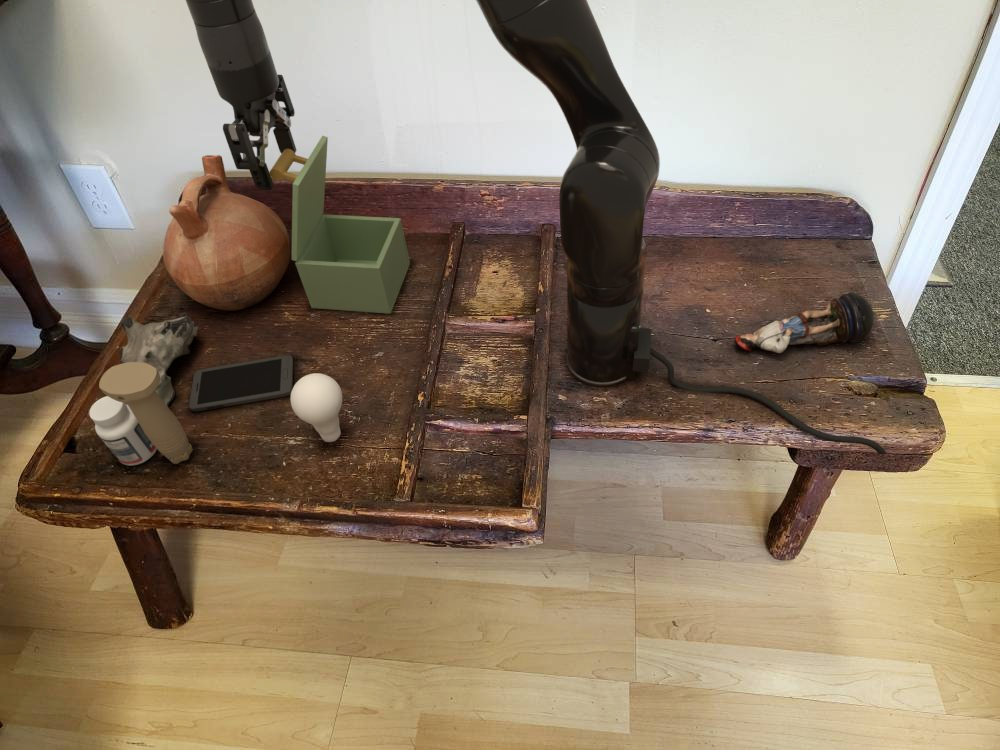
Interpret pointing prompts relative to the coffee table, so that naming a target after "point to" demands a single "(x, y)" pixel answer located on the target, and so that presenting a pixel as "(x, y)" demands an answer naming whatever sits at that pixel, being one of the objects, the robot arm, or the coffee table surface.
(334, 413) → the lightbulb
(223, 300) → the jug
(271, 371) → the cell phone
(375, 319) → the coffee table surface
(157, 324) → the decorative stone
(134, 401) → the handle
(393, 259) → the chest
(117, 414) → the pill bottle
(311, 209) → the chest lid
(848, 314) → the figurine
